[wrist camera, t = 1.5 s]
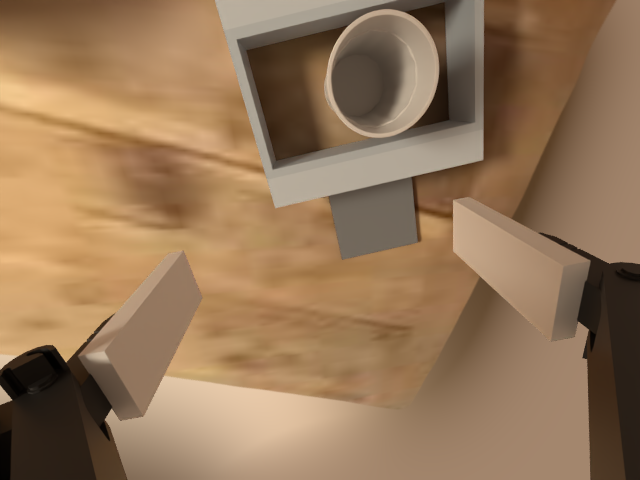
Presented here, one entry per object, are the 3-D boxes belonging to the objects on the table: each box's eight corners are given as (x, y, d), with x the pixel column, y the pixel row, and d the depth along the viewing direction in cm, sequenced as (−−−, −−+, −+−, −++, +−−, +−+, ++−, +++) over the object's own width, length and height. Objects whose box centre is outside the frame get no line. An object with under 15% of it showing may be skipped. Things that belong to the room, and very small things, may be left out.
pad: (326, 184, 36) (326, 185, 36) (408, 165, 36) (410, 166, 36) (341, 257, 41) (342, 259, 40) (416, 240, 40) (417, 242, 40)
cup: (402, 103, 33) (454, 102, 23) (338, 141, 35) (358, 157, 24) (371, 26, 30) (414, -19, 19) (302, 70, 32) (305, 52, 21)
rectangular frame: (225, 6, 29) (210, -15, 24) (451, -50, 28) (484, -83, 23) (278, 193, 37) (275, 208, 31) (457, 152, 36) (483, 160, 31)
